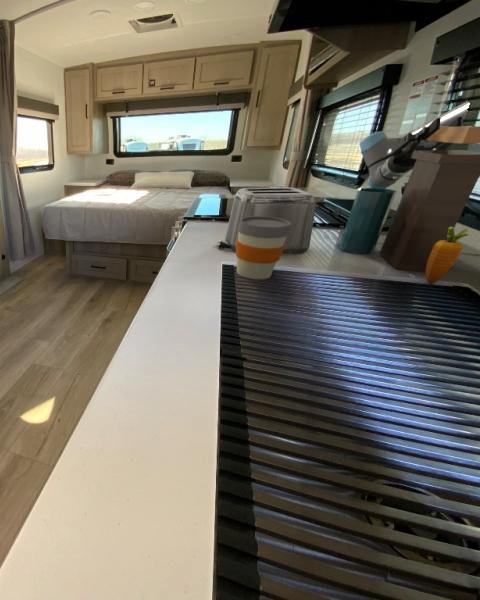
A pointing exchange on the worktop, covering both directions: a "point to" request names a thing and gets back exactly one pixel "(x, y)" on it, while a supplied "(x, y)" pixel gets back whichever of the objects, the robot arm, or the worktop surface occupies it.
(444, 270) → the carrot
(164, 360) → the worktop surface
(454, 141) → the oak bar
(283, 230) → the reusable coffee cup
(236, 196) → the toaster
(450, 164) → the walnut stand
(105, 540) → the worktop surface
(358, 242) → the tall cup
